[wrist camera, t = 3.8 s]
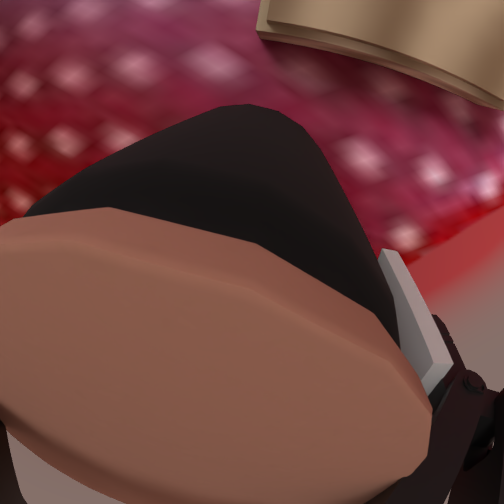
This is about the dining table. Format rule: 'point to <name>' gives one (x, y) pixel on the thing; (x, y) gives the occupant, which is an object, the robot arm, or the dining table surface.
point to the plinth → (403, 38)
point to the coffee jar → (207, 325)
